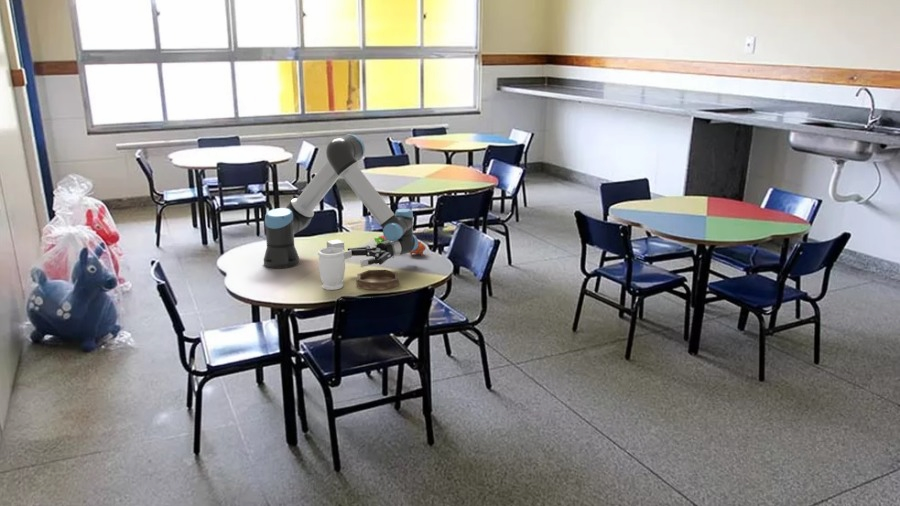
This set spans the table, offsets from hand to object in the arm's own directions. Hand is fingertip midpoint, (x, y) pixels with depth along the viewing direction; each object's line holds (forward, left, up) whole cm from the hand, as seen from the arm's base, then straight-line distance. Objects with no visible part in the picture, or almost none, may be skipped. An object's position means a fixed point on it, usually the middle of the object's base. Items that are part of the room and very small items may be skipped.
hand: (349, 260), depth 277 cm
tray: (+11, -3, -9) cm, 15 cm away
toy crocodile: (+17, +46, -9) cm, 50 cm away
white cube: (-7, +38, -9) cm, 40 cm away
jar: (-7, -6, -9) cm, 13 cm away
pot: (+30, +34, -9) cm, 46 cm away
